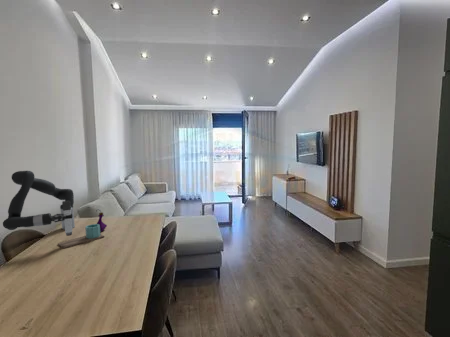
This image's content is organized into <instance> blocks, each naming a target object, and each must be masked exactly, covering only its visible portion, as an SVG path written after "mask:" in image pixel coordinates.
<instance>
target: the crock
mask: <svg viewBox="0 0 450 337" xmlns="http://www.w3.org/2000/svg"><path fill="white" fill-rule="evenodd" d="M84 228H85V236H86V238H88V239H92V238H97V237H99V236H100V234H101V232H100V225H99V224H97V223H93V224H88V225H86V226H84Z"/></svg>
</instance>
